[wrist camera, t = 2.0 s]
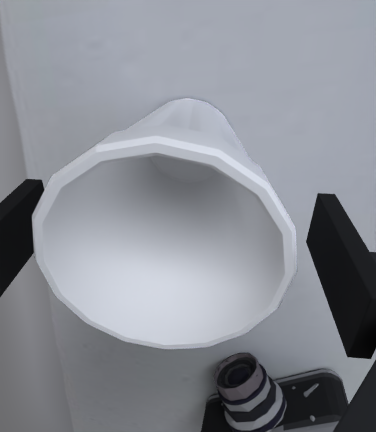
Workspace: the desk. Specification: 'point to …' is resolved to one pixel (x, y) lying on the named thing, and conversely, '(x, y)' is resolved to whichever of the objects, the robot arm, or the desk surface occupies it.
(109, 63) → the desk surface
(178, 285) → the cup
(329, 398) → the camera
